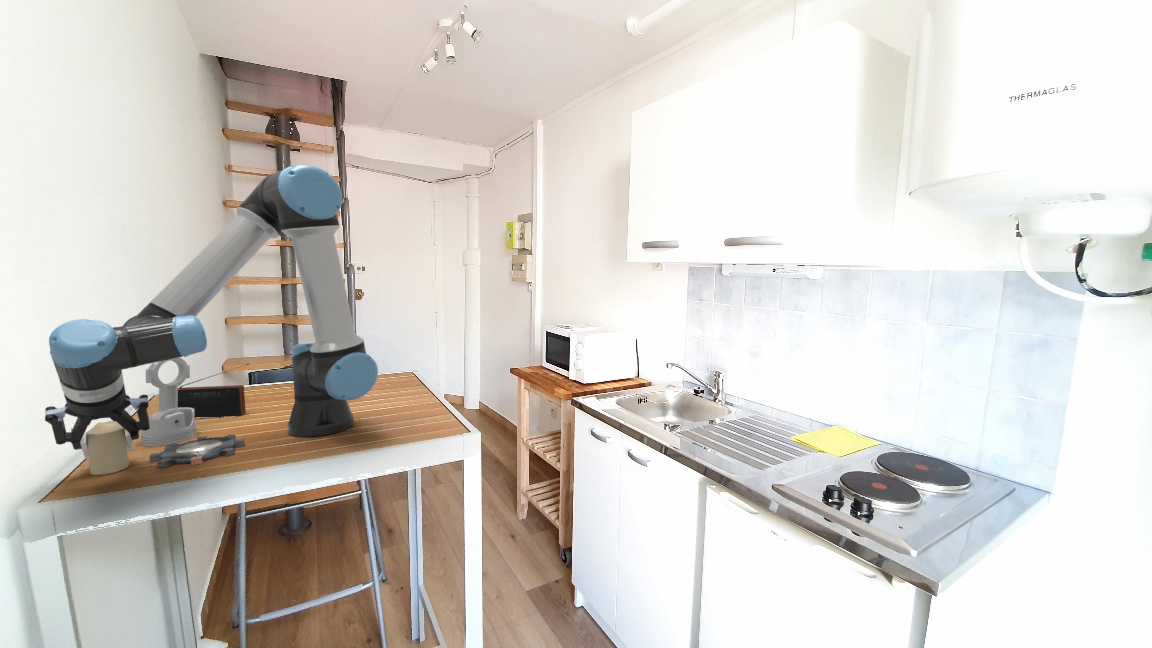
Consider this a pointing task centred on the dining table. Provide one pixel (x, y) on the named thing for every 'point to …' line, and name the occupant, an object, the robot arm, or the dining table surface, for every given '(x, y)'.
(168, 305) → the robot arm
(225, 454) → the sprocket
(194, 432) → the engine component
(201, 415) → the radio
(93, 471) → the candle
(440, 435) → the dining table surface
